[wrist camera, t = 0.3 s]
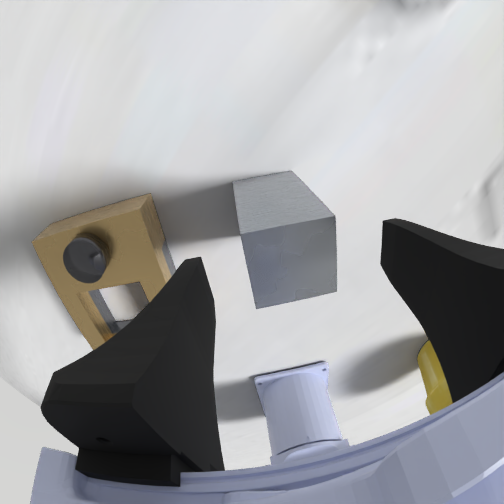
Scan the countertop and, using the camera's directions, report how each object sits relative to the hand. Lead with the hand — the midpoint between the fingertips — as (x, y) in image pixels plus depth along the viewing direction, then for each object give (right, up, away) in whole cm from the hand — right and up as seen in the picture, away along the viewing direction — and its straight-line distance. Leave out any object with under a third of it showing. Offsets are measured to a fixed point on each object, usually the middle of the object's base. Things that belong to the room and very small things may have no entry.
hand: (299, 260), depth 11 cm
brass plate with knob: (-12, -3, +11) cm, 16 cm away
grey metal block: (-1, +4, +9) cm, 9 cm away
